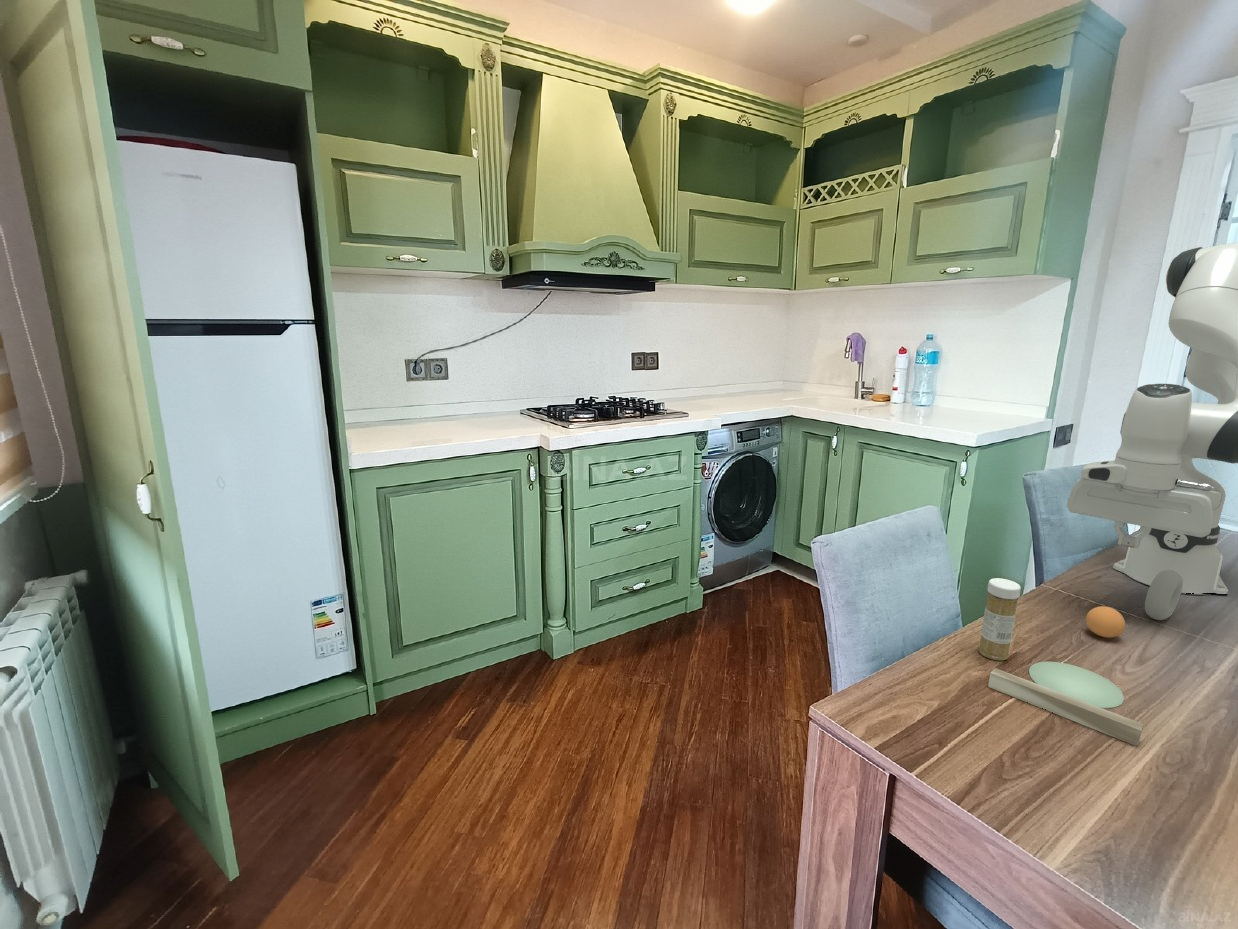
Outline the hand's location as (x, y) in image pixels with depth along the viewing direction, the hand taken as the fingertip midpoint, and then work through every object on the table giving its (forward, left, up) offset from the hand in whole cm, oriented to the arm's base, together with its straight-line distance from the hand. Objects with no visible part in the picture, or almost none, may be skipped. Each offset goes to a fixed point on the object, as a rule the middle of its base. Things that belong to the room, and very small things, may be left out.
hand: (1128, 546), depth 110 cm
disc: (+31, 0, -15) cm, 34 cm away
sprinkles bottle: (+31, -12, -15) cm, 37 cm away
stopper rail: (+41, 0, -15) cm, 44 cm away
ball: (+9, 0, -12) cm, 15 cm away
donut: (-7, +6, -15) cm, 18 cm away
